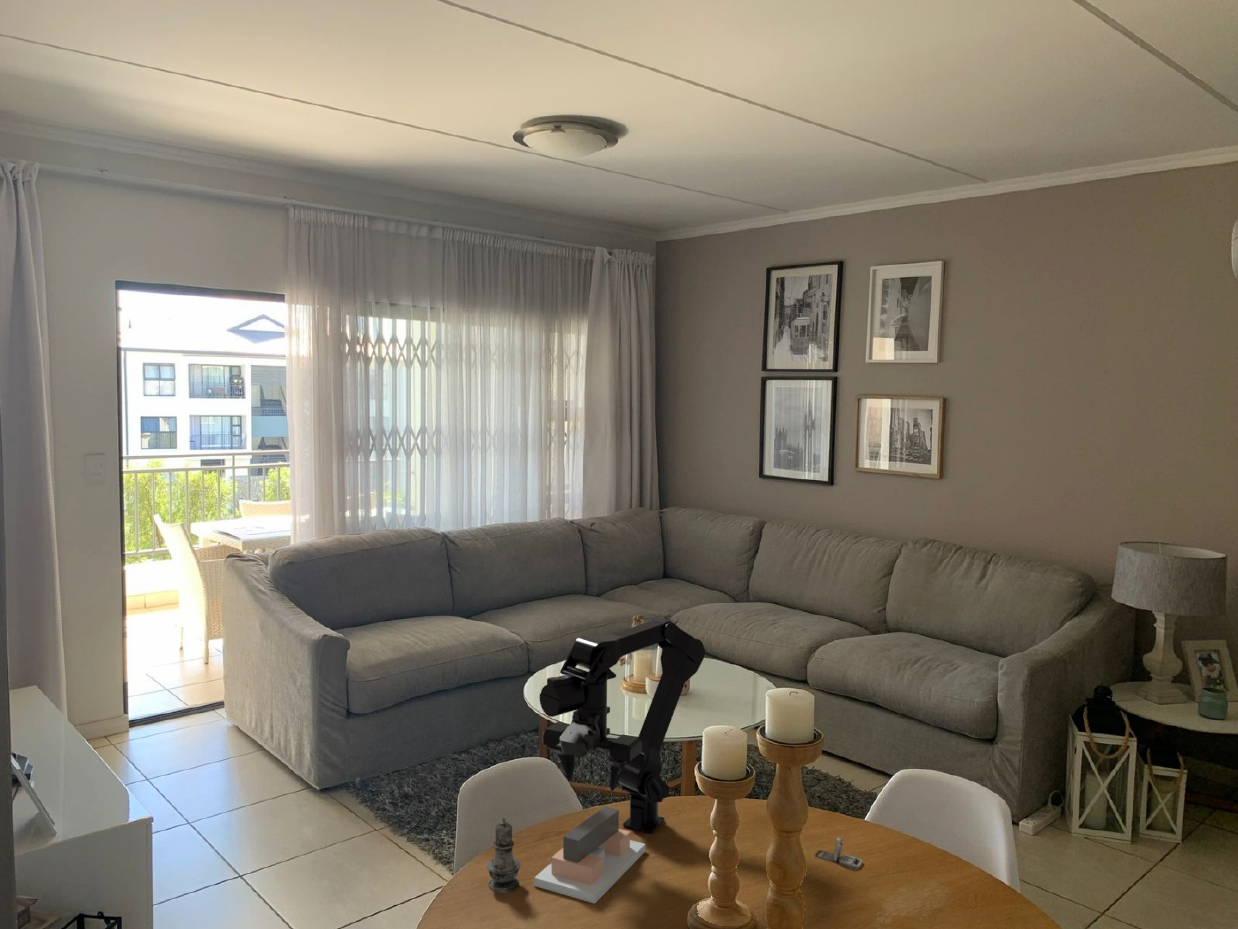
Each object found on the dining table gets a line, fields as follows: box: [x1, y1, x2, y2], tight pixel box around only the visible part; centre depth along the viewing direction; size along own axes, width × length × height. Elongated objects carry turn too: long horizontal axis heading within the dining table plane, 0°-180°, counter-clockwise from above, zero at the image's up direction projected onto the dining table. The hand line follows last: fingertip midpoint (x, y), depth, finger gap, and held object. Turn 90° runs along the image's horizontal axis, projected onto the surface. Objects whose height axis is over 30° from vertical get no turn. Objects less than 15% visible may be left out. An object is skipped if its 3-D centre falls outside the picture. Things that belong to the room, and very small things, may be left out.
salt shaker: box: [486, 817, 522, 894], centre depth 159 cm, size 6×6×12 cm
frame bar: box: [562, 805, 620, 863], centre depth 164 cm, size 14×3×4 cm, turn 150°
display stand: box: [533, 828, 646, 905], centre depth 165 cm, size 20×12×4 cm, turn 153°
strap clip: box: [813, 837, 863, 870], centre depth 169 cm, size 8×3×4 cm, turn 58°
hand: (591, 785), depth 172 cm, fingers open, 9 cm apart
